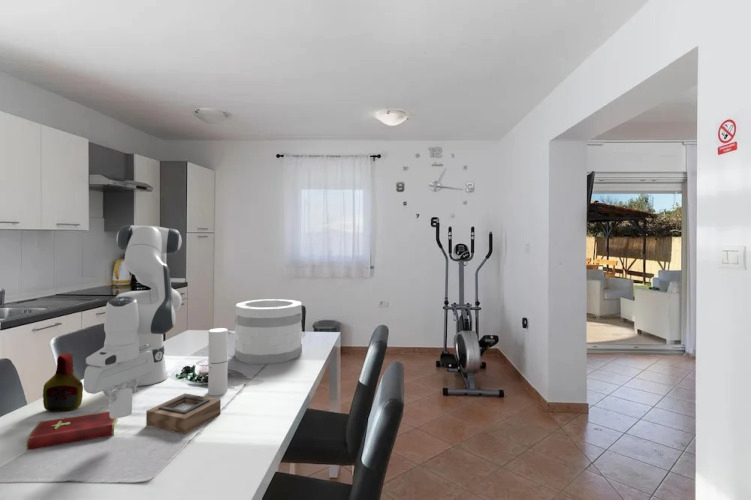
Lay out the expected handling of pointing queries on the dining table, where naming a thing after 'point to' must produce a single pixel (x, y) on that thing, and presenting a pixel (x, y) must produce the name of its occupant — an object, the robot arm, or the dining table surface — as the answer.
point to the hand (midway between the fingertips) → (121, 397)
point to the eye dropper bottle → (121, 402)
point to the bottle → (63, 387)
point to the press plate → (184, 406)
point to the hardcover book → (71, 430)
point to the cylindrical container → (217, 361)
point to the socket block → (183, 413)
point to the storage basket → (268, 331)
